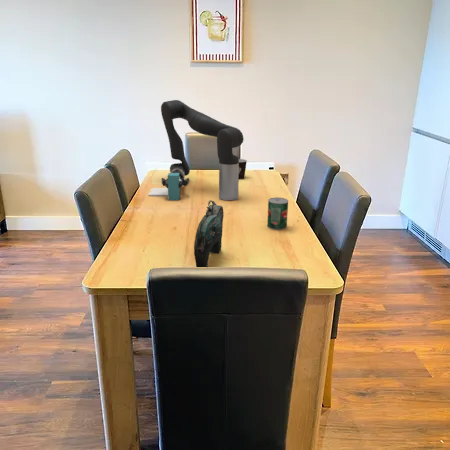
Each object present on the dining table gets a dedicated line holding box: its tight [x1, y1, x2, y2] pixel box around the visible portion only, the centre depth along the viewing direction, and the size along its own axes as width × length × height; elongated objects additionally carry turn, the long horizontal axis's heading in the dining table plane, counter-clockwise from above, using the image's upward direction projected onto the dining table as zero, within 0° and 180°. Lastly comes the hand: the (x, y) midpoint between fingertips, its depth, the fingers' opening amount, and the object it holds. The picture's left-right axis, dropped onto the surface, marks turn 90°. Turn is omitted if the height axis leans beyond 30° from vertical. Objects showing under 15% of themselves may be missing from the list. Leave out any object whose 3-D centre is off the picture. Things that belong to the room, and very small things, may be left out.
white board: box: [148, 187, 168, 197], centre depth 223 cm, size 12×12×1 cm
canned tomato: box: [266, 196, 289, 231], centre depth 177 cm, size 8×8×11 cm
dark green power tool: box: [193, 199, 225, 268], centre depth 146 cm, size 20×6×20 cm, turn 163°
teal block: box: [167, 172, 181, 201], centre depth 212 cm, size 5×5×12 cm
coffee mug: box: [238, 158, 248, 180], centre depth 252 cm, size 12×9×10 cm
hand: (173, 185), depth 209 cm, fingers closed on teal block, 5 cm apart
